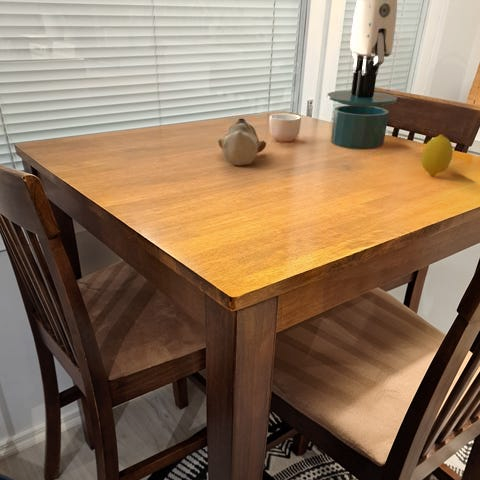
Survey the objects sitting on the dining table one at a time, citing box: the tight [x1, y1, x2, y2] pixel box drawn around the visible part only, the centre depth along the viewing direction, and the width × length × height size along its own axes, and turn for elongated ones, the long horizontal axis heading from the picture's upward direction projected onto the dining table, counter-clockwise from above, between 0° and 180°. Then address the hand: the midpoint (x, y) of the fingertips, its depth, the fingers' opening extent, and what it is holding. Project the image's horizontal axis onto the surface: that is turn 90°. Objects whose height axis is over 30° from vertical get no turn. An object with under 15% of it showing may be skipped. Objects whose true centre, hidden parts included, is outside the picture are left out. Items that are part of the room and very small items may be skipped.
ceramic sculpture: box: [217, 117, 267, 167], centre depth 106 cm, size 11×9×15 cm
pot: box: [330, 105, 390, 150], centre depth 120 cm, size 13×13×8 cm
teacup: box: [268, 113, 302, 143], centre depth 123 cm, size 10×8×5 cm
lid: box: [326, 70, 398, 107], centre depth 97 cm, size 14×14×6 cm
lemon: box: [421, 134, 453, 177], centre depth 97 cm, size 6×6×8 cm
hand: (361, 95), depth 98 cm, fingers closed on lid, 2 cm apart
